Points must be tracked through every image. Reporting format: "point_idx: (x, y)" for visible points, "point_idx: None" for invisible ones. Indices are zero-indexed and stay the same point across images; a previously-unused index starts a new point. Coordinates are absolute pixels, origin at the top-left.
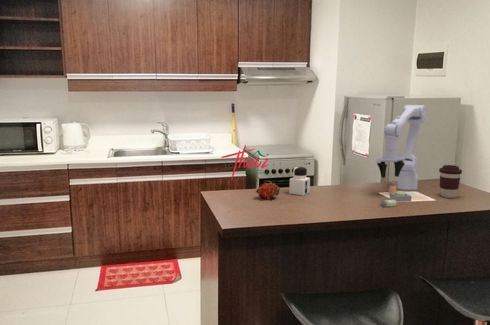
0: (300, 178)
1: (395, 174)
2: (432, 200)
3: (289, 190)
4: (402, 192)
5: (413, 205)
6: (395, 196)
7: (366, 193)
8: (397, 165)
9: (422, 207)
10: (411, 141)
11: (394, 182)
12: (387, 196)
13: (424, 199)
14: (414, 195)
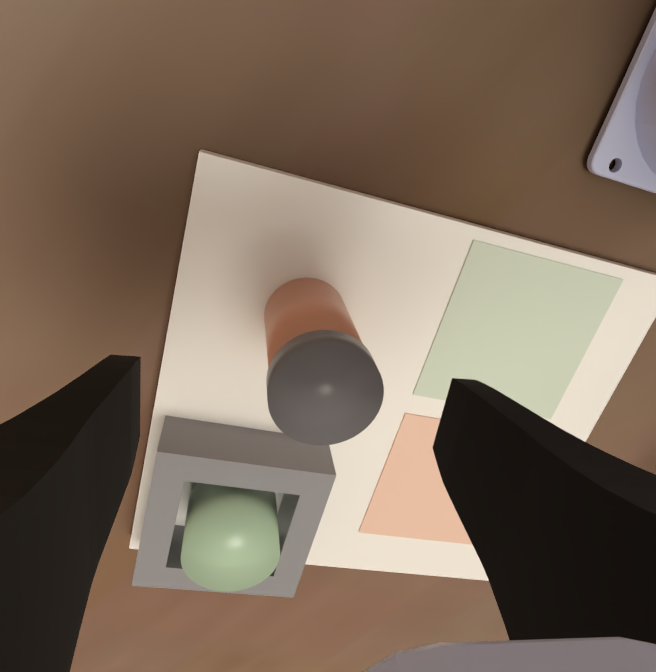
0: None
1: (461, 413)
2: (472, 578)
3: None
4: (223, 585)
5: (243, 599)
6: (138, 550)
7: (51, 21)
8: (571, 627)
9: (267, 647)
10: None
11: (354, 391)
12: (184, 361)
13: (442, 544)
14: None
